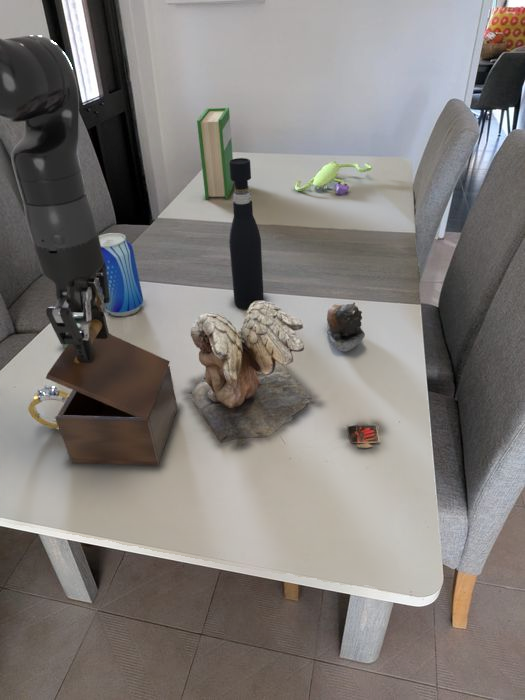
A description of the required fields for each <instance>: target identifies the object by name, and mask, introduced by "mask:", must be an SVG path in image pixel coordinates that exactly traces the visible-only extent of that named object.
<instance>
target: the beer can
mask: <svg viewBox="0 0 525 700" xmlns="http://www.w3.org/2000/svg"><path fill="white" fill-rule="evenodd" d="M98 236H99V240H100V245H101V250H102V254H103V259H104V261H105V263H106V271H107V280H108V288H109V297H110V301H109V303H105V306H106V312H108V313H109V314H110V315H112V316H115V317H126V316H130V315H133V314H136V313H137V312H138V311H140V309H141V307H142V305H143V303H144V296H143V292H142V291H143V290H142V285H141V282H140V277H139V273H138V266H137V262H136V257H135V253H134V248H133V245H132V244H131V242H129V240H128V239H127V237H126V235H125V234H124V233H120V232H109V233H104V234H100V235H98ZM100 288H101V287H100ZM101 290H102V288H101Z"/></svg>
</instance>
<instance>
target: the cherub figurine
mask: <svg viewBox="0 0 525 700" xmlns="http://www.w3.org/2000/svg"><path fill="white" fill-rule="evenodd" d="M303 328H304V323H303V322H302V320H301V319H299V318H297V317H295V316H293V315H292V314H289V313H287V312H285V311H284V310H283V309H282V308H280V307H279V306H277V305H276V304H274V303H273V302H270V301H267V300H264V301H255V302H253V303H252V304H251V305H250V306H249V308H248V309H247V311H246V313H245V316H244V320H243V323H242V325H241V327H240V330H238V331H237V328H236V326H235V325H234V324H233V323H232V321H231V320H230V319H228V318H227V317H225V316H223V315H222V314H219V313H216V312H202V313H201V314H200V315H199V316H198V317H197V318H196V319H195V321H193V324H192V325H191V328H190V337H191V339H192V341H193V343H194V345H195V347H196V348H198V349H199V352H198V361H199V363H200V364H201V365H202V366H203V367H205V371H204V377H203V379H204V381H202V380H198V381H196V382H195V385H194V387H195V388H193V389H192V390H190V391H188V392H186V393H187V394H191V397H190V399H191V401H192V403H193V405H194V406H195V407H196V409H197V410H198V412H199V413H200V415H201V416H202V418H203V420H204V421H206V423H207V425H208V426H209V428H210V429H211V430H212V432H213V433H214V435H215V436H216V438H217V439H218V440H219V442H220V443H224V442H228V441H231V440H235V439H237V438H238V439H237V443H236V447H237V448H238V447H239V446H242V445H244V444H246V443H247V442H246V440H245V439H244V438H248V439H251V438H265V437H269V436H270V435H272V434H273V433H275V432H277V430H279V429H280V428H281V427H282V426H283V424H286V423H288V422H289V423H290V422H291V421H292V420H293V416H294V415H296V414H298V413H299V411H302V410H303V409H304V408H305V407H306V406H307V404H308V403H311V404H315V402H314V401H311V400H310V399H311V398H312V397H311V396H310V395H309V394H308V392H307V391H306V390H305V389H304V388H303V387H302V386H301V384H300V383H298V382H297V380H295V379H294V378H293V376H291V374H290V373H289V371H288V370H287V369H286V368H285V366H286V365H290V364H291V363H293V362H294V356H293V353H292V352H294V353H295V352H296V353H297V352H298V353H300V352H303V351H304V350H305V343H304V341H303V339H302V338H301V337H300V336H299V335H298V334H297V333H296V332H295V331H299V330H301V329H302V330H303ZM283 365H285V366H283Z"/></svg>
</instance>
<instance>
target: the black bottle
mask: <svg viewBox="0 0 525 700" xmlns="http://www.w3.org/2000/svg"><path fill="white" fill-rule="evenodd" d="M229 165H230V176H231V177H230V178H231V180H232V181H234V192H233V195H232V196H233V202H232V211H233V218H232V220H231V226H230V231H229V238H228V244H229V245H228V246H229V257H230V268H231V280H232V287H233V288H232V290H233V291H232V292H233V303H234V305H235V307H237V308H238V309H241V310H248V308H249V306H250V305H251V304H252V303H253V302H255V301H265V299H264V297H265V296H264V276H263V274H264V273H263V258H262V257H263V256H262V238H261V234H260V230H259V226H258V224H257V222H256V218H255V216H254V211H253V201H252V200H251V199H252V197H251V192H250V190H249V182H248V181H250V180H251V179H252V172H251V171H252V167H251V159H250V158H245V157H237V158H233V159H232V160H230V162H229Z"/></svg>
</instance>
